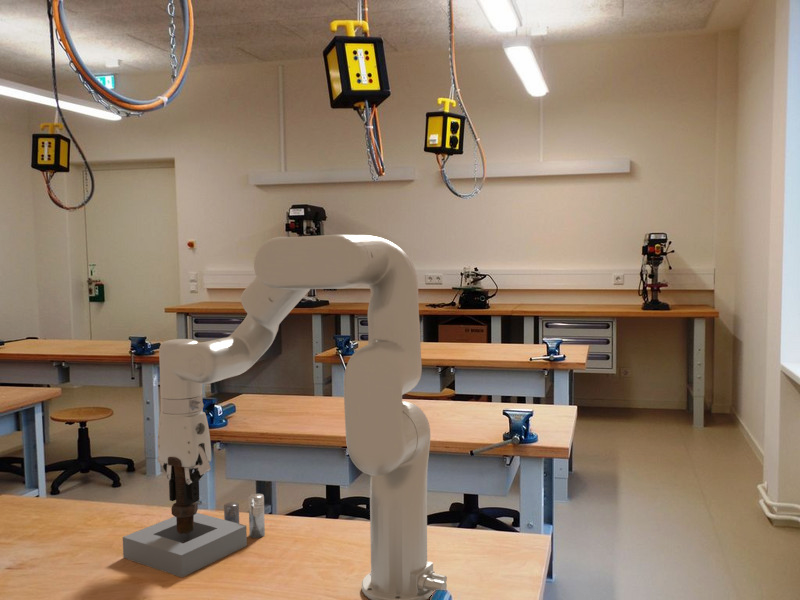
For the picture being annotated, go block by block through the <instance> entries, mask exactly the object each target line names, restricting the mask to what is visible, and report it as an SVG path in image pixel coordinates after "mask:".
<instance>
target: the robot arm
mask: <svg viewBox="0 0 800 600" xmlns="http://www.w3.org/2000/svg"><path fill="white" fill-rule="evenodd" d="M253 269H254V273H255V276H256V277H255V278H254V279H253V280H252V281H251V282H250V283H249V285H248V286H247V287H246V288H244V290H243V292H242V293H241V296H240V303H241V305H242V308H243V310H244V311H245V313H246V316H245V318H244V319H243V321H241V323H240V324H239V325H238V326H237V328H235V330H234V331H232V333H231V334H230V335H228V336H227V337H222V338H218V339H216V338H215V339H212V340H208V341H203V342H199V341H198V340H195V339H191V338H190V339H189V338H176V339H170V340H165V341H163V342H162V343H161V344H160V346H159V351H158V352H159V353H158V355H159V356H158V358H159V384H160V385H159V387H160V389H159V391H160V414H159V420H158V426H157V427H158V429H157V430H158V431H157V432H158V433H157V451H158V457H157V462H158V464H159V465H161V467H163V470H164V471H165V473H166V479H167V480H168V486H169V487H168V488H169V489H168V491H169V492H168V493H169V495H168V496H169V501H171V502H176V488H175V487H176V486H175V485H176V484H175V483H176V482H175V472H174V466H172V465H168V457H174V458H178V459H179V460H181V465H182V467H184V469H185V478H186V483H185V484H184V504H185V505H189V504H192V503H194V502H197V503H198V502H199V501H200V481H202V477H203V476H204V475H205V474H207V473H208V472H210V471H211V465H210V462H211V461H212V448H211V447H212V446H211V436H210V435H211V434H210V428H209V423H208V418H207V415H206V412H204V410H203V408H204V403H203V385H204V384H205V385H206V384H213V383H216V382H219V381H220V382H221V381H222V380H226V379H230V378H233V377H237V376H239V375H242V374H243V373H245V372H247V371H248V370H250V369H251V368H252V367H253V366H254V365H255V364H256V363H257V362H258V360H259V359H260V358H261V357H262V356H263V355H264V354H265V353H266V352H267V351H268V350H269V348H270V347H271V346H272V344H273V342H274V340H276V336H277V333H278V332H279V327H280V324H281V323H282V321H284V319H285V318H286V317H287V316H288V315H289V314H290V313H291V311H292V310H293V309H294V308H295V307H296V306H297V305H298V304H299V302H301V300H302V299H303V298H304V297H305V296H307V294H308V293H309V292H310V291H311V290H325V289H327V290H330V289H331V290H334V289H335V290H338V289H339V290H341V289H350V288H358V287H368V288H369V290H370V297H369V301H368V308H367V325H368V327H367V328H368V329H367V330H368V333H367V334H368V339H367V340H368V342H367V344H366V345H364V346H361V347H360V348H358V349H357V350H355V352H354V353H352V355H351V356H350V358H349V360H348V361H347V364H346V367H345V371H344V375H343V402H344V405H343V406H344V427H345V428H344V429H345V441H346V442H345V444H346V447H347V452H348V455H349V457H350V460H351V461H352V463H353V465H355V467H356V468H357V470H360V471H361V472H362V473H364V474H366V475H369V476H370V482H369V511H370V512H369V515H370V516H369V517H370V518H369V522H370V523H369V525H370V527H369V529H370V572H369V573H368V574H366V575H365V577H363V579H362V581H361V589H362V590H361V591H362V593H363V594H364V596H365V597H367V599H368V600H429V599H430V598H431V597H432V596H431V594H432V592H433V591H434V590H436V589H445V590H447V587H448V585H447V580H448V579H447V578H448V577H447V575H444V574H440V573H435V570H434V562H433V561H428V465H429V457H430V456H429V455H430V450H431V449H430V447H431V426H430V423H429V419H428V417H427V416H426V413H425V412H424V410H422V409H421V408H420V407H419V406H418V405H417V404H414V403H412V402H409V401H407V400H406V401H405V400H403V395H405V394H407V393H409V392H410V391H412V390H413V389H414V388H415V387H416V386H418V383H419V381H420V380H421V379H422V378H421V377H422V373H423V372H422V371H423V370H422V369H423V368H422V367H423V366H422V365H423V364H422V347H421V345H422V344H421V324H420V313H419V312H420V308H419V305H420V304H419V282H418V276H417V271H416V269H415V266H414V264H413V262H412V260H411V258H410V257H409V255H408V254H407V253H406V251H405V250H404V249H402V248H401V247H400V246H399V245H397V244H396V243H394V242H392V241H390V240H388V239H385V238H383V237H379V236H374V235H370V234H329V235H328V234H326V235H325V234H324V235H323V234H322V235H304V236H276V237H273V238H269V239H268V240H266V241H265V242H264V243H263V244H261V245H260V246H259V248H258V249H257V251H256V253H255V256H254V260H253ZM192 469H193V471H192V472H193V473H191V470H192ZM430 596H431V597H430ZM429 597H430V598H429Z"/></svg>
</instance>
